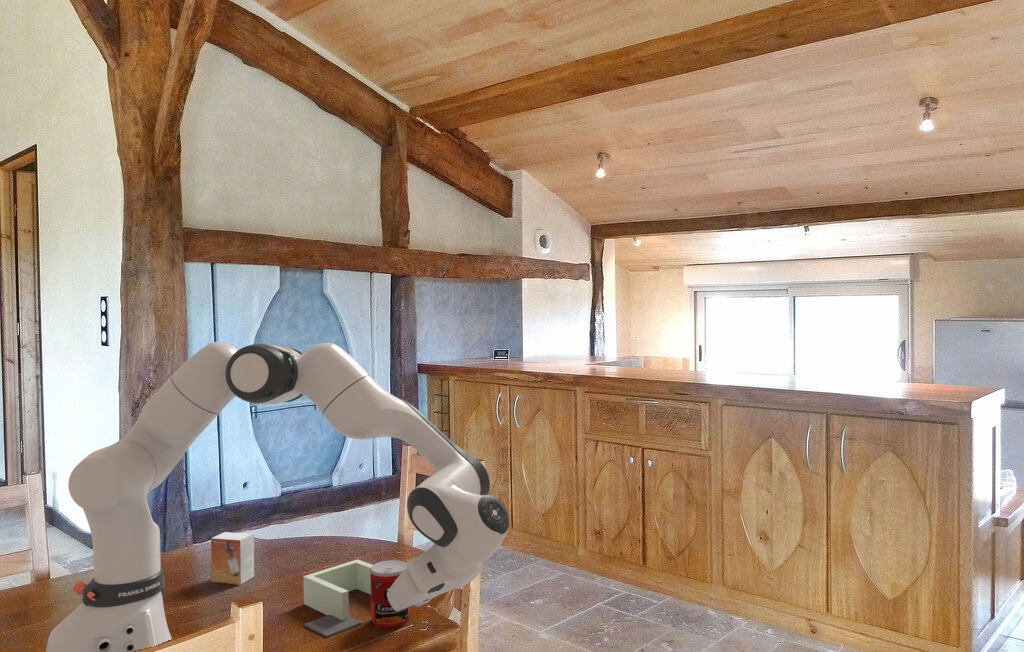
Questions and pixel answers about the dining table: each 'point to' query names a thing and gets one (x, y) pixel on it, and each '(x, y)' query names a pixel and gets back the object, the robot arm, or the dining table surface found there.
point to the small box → (232, 558)
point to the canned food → (380, 584)
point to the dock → (336, 587)
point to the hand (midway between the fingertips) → (419, 601)
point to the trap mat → (331, 625)
